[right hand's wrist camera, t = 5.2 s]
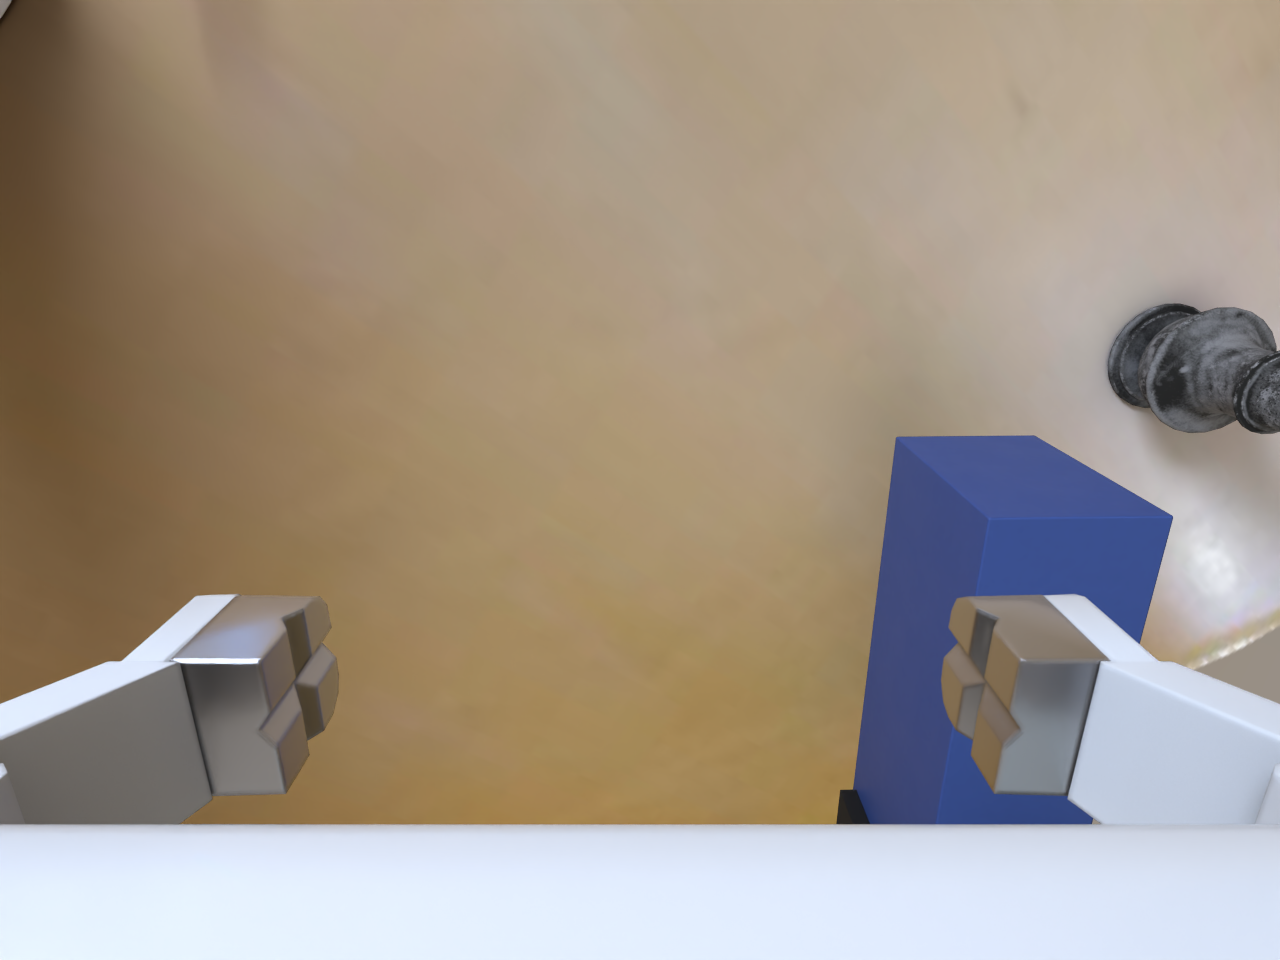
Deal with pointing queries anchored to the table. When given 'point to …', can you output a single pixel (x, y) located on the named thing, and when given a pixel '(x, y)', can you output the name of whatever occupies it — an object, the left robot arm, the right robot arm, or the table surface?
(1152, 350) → the chess piece
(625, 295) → the table surface
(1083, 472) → the bar
